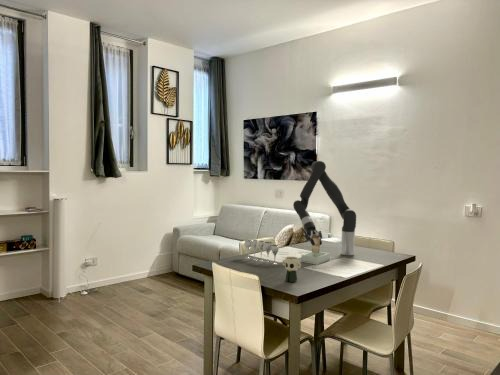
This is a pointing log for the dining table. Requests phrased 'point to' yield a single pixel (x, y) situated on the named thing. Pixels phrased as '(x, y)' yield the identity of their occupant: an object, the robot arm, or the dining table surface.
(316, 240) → the pepper mill
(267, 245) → the goblet set
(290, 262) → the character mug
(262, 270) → the dining table surface
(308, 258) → the bin
